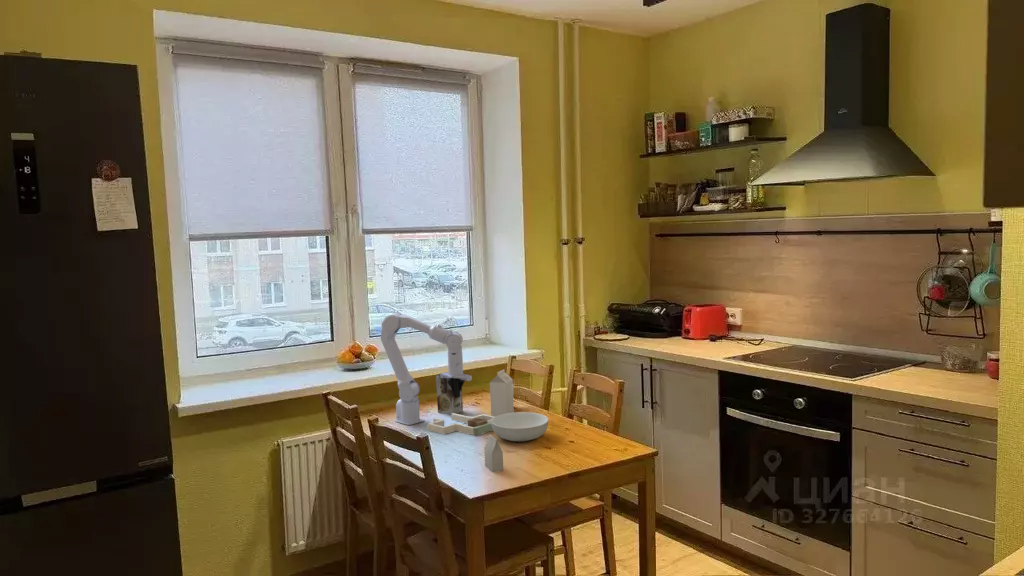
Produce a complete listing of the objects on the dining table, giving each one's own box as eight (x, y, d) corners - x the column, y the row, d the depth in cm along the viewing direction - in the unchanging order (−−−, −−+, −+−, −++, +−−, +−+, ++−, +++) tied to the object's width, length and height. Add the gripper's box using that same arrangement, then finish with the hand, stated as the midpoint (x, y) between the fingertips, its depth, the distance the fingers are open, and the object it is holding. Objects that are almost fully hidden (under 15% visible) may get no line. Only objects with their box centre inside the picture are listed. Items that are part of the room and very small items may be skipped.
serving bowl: (482, 444, 250) (482, 425, 250) (503, 428, 270) (503, 410, 269) (538, 448, 243) (538, 429, 243) (556, 431, 263) (555, 413, 262)
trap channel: (421, 428, 273) (421, 421, 273) (465, 415, 290) (465, 409, 289) (463, 439, 257) (462, 432, 256) (507, 425, 273) (506, 418, 273)
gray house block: (492, 472, 221) (491, 440, 220) (485, 466, 227) (483, 435, 226) (503, 470, 222) (502, 439, 221) (495, 464, 229) (494, 433, 228)
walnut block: (467, 430, 269) (467, 420, 268) (476, 428, 272) (476, 417, 272) (478, 433, 264) (478, 423, 264) (487, 430, 268) (487, 420, 267)
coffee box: (463, 411, 297) (462, 373, 296) (454, 415, 292) (452, 376, 291) (446, 409, 302) (444, 371, 301) (437, 412, 297) (435, 374, 296)
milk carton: (491, 419, 283) (489, 372, 282) (498, 414, 290) (496, 368, 288) (507, 420, 281) (505, 373, 279) (514, 415, 287) (512, 369, 286)
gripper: (434, 363, 281) (436, 397, 282) (463, 366, 272) (464, 401, 273) (446, 360, 286) (447, 393, 288) (474, 363, 278) (475, 397, 279)
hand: (456, 397), depth 281 cm, fingers closed
